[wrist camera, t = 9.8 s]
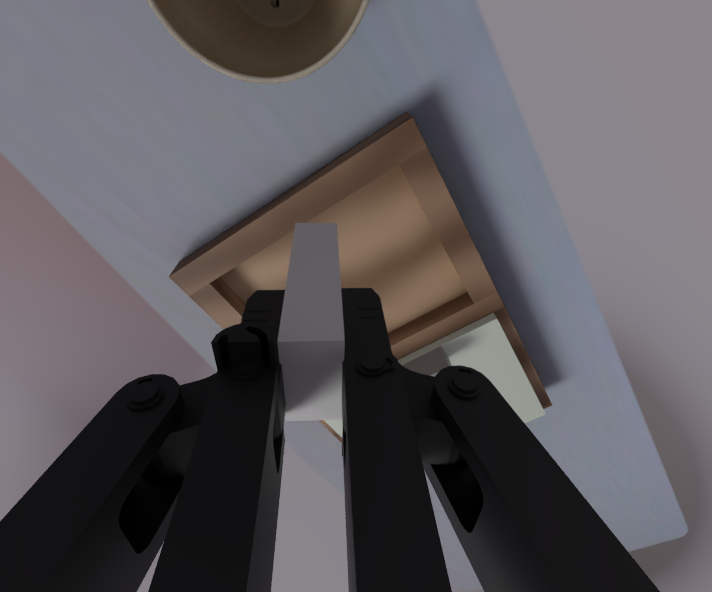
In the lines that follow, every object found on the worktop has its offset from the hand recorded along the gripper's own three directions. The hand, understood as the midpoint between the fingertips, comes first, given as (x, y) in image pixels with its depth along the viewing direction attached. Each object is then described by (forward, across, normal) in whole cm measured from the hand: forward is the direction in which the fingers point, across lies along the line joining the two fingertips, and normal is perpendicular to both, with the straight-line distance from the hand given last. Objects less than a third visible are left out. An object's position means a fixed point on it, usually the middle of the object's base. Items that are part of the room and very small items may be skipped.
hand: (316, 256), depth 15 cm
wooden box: (+14, +6, -15) cm, 21 cm away
